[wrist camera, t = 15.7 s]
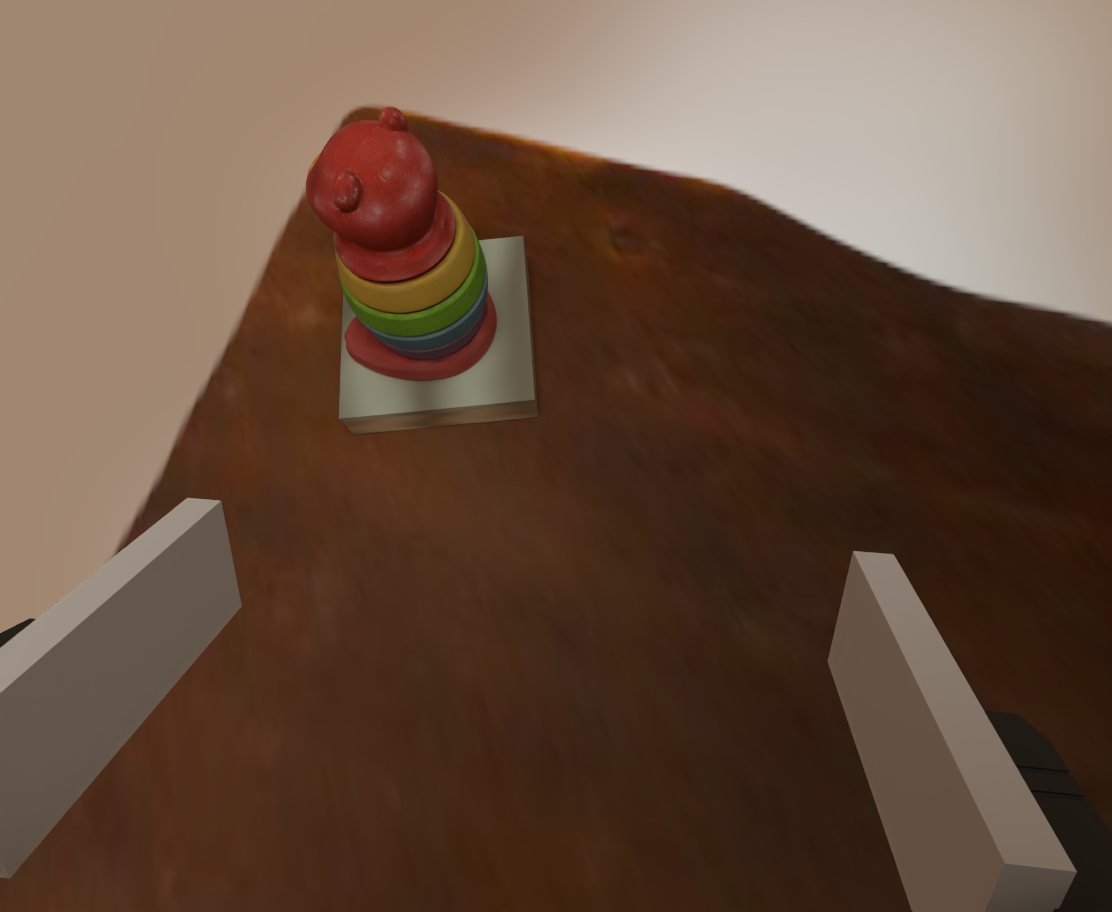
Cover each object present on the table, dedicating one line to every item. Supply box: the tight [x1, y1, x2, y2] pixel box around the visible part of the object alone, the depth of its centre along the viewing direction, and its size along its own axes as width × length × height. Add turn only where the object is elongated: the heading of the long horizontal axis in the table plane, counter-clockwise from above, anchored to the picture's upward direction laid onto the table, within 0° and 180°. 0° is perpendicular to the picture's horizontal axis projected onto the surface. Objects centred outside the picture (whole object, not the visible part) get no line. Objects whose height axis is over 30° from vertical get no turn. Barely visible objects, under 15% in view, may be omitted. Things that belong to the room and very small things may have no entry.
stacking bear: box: [306, 107, 497, 380], centre depth 45 cm, size 11×10×18 cm
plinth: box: [339, 236, 539, 435], centre depth 55 cm, size 14×14×3 cm
